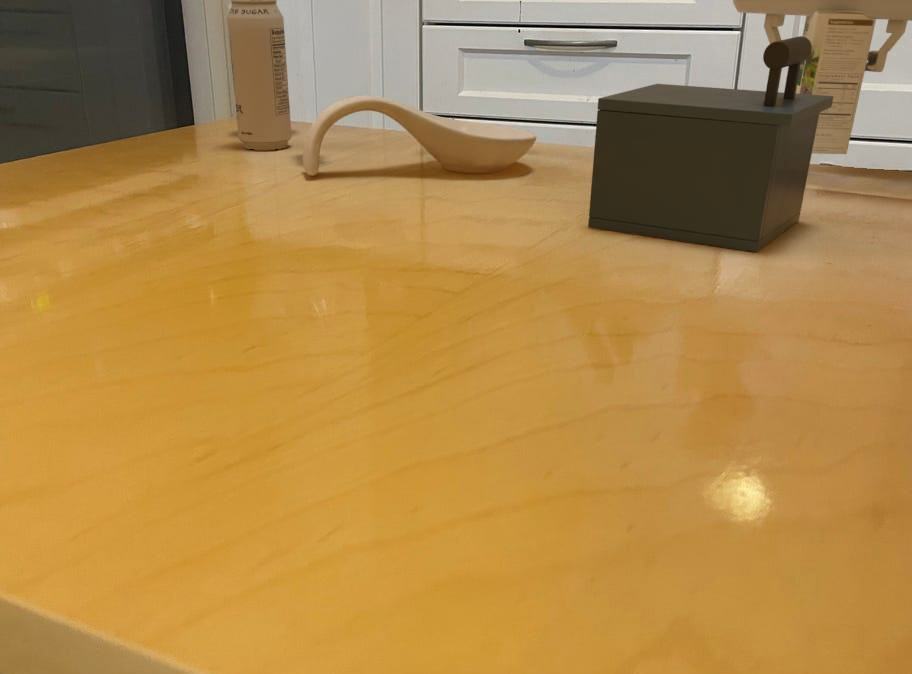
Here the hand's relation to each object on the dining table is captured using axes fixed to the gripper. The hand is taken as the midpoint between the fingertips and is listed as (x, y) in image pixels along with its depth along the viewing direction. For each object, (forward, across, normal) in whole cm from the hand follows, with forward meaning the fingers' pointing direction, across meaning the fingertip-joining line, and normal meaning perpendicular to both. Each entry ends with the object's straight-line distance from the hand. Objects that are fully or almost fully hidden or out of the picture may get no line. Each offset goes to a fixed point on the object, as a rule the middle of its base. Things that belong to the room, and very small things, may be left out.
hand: (824, 67), depth 95 cm
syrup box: (+9, +1, 0) cm, 9 cm away
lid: (0, 0, -32) cm, 33 cm away
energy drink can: (+10, -54, -24) cm, 60 cm away
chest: (+9, 0, -32) cm, 34 cm away
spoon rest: (+10, -31, -26) cm, 42 cm away
